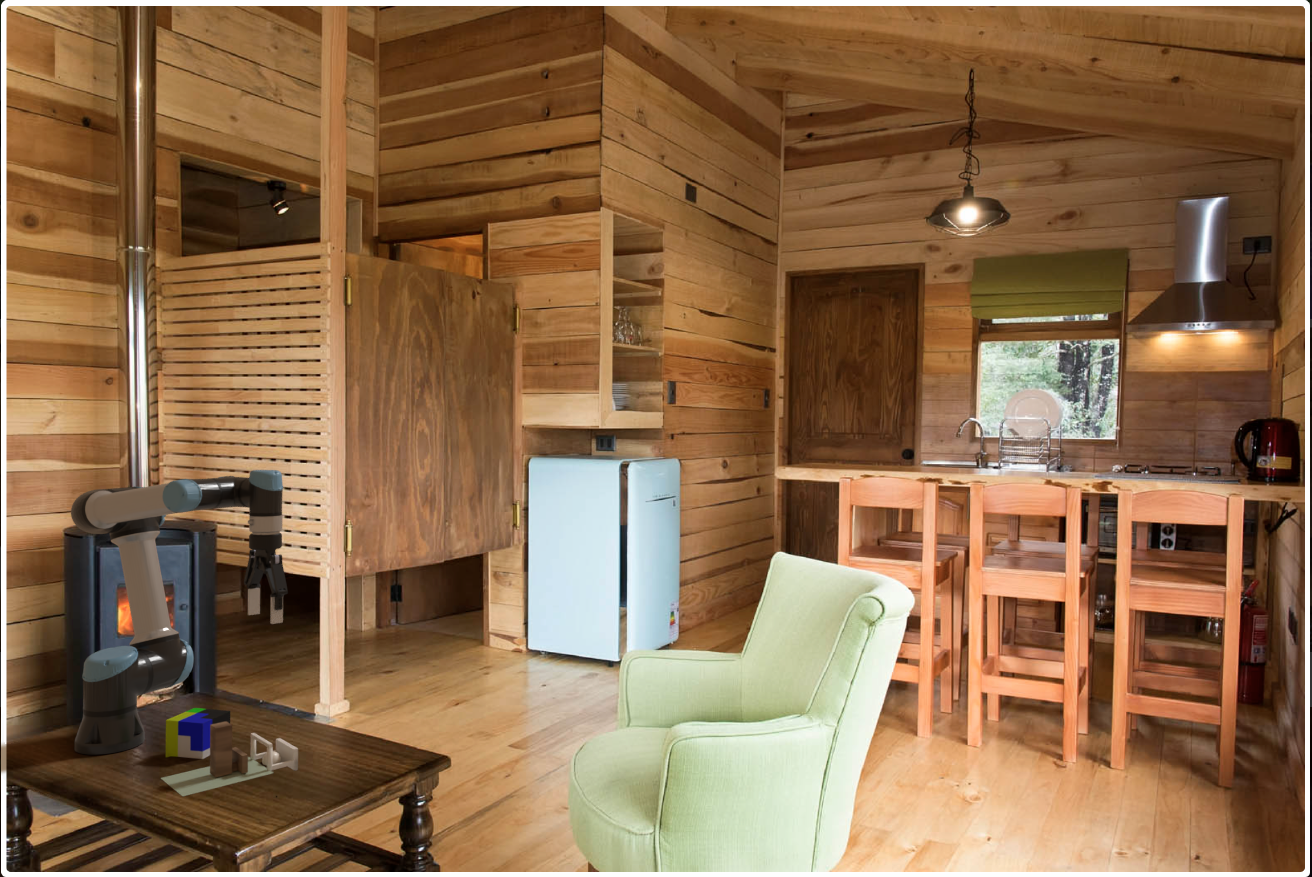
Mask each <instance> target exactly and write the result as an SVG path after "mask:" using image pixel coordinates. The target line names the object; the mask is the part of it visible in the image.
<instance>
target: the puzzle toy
mask: <svg viewBox="0 0 1312 877" xmlns="http://www.w3.org/2000/svg"><path fill="white" fill-rule="evenodd" d="M221 722H228V723H230V724H231V710H226V709H225V710H224V709H212V708H202V707H201V708H200V707H194V708H191V709H189V710H186V711H184V712H182V713H180V714H177V715H175V716H172V717H170V718H168V719H166V720H165V758H169V757H176V758H177V757H178V758H189V759H199V760H204V759H206V758H207V757H210V725H211V724H216V723H221Z"/></svg>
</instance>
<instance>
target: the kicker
mask: <svg viewBox="0 0 1312 877" xmlns="http://www.w3.org/2000/svg"><path fill="white" fill-rule="evenodd" d="M248 757H249V754H247V753H246V752H245V751H243V750H241V749H240V748H238V747H236V746H234V747H233V724H232V723H231V722H230V723H228V722H221V723H216V724H211V725H210V755H209V766H210V774H212V775H213V776H214V777H220V776H224V775H228V774H232V772H234V771H239V772H241V773H242V774H243V773H247V772H248Z"/></svg>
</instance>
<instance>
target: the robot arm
mask: <svg viewBox="0 0 1312 877" xmlns="http://www.w3.org/2000/svg"><path fill="white" fill-rule="evenodd" d="M283 490H284V485H283V473H282V472H281V471H280V470H277V469H253V470H251V471H250V472H249V477H247V476H246V477H245V476H234V475H226V476H225V475H224V476H219V477H210V478H209V477H208V478H191V479H190V478H189V479H188V478H184V479H183V478H182V479H177V480H172V481H170V482H168V483H167V482H166V483H161V484H156V485H150V486H130V487H129V486H128V487H127V486H126V487H116V488H113V487H112V488H98V489H93V490H89V491H86V492H84V493H81V494H79V496H78V497H76V499H75V500H73V503H72V505H71V508H70V517H71V520H72V522H73V524H74V525H75V526H76V527H77V528H79V529H80V531H81V530H82V532H86V533H89V534H92V535H93V534H94V535H103V534H104V535H105V534H109V538H110V542H111V543H112V544H114V545H116V546H117V547H118V550H119V555H120V556H119V557H120V562H121V567H122V573H123V578H124V584H125V589H126V595H127V601H128V605H129V612H130V617H131V623H132V629H133V633H134V637H133V638H132V640H131V641H130V642H129V645H119V646H115V647H108V648H104V649H100V650H98V651H96V652H93V653H91V654H90V655H89V656H87V657H86V659H85V661H84V662H83V671H82V677H81V678H82V680H83V681H82V699H83V700H82V712H83V713H82V720H81V721H80V724H79V728H78V730H77V733H76V736H75V738H74V751H75V752H76V753H79V754H81V755H82V754H83V755H96V756H97V755H106V754H107V755H108V754H114V753H120V752H123V751H127V750H130V749H133V748H136V747H138V746H140V745H141V744H143V743H144V742H145V737H146V736H145V735H146V734H145V728H144V725H143V723H142V721H141V718H140V715H139V712H138V696H141V695H145V694H149V693H152V692H153V693H154V692H157V691H159V690H162V689H167V688H168V689H169V688H172V687H174V686H176V685H178V684H181V683H183V682H184V681H185V680H186V679H187V678H189V675H190V673H192V670H193V667H194V659H195V658H194V651H193V648H192V647H191V645H190V644H189V642H188V641H186V640H185V639H182V638H181V637H180V632H179V631H178V630H176V629H174V628H173V627H172V625H171V621H170V620H171V618H170V614H169V609H168V603H167V598H166V593H165V588H164V583H163V577H162V571H161V564H160V561H159V555H158V550H157V544H156V543H157V542H156V539H157V537H158V536H159V535H160V534H161V530H160V527H162V526H163V525H164V522H165V521H166V519H165V518H166V517H167V515H168V516H169V515H173V514H174V515H175V514H180V513H181V514H182V513H187V512H193V511H203V510H215V509H224V508H227V509H228V508H249V510H248V511H249V512H248V518H249V520H247V524H248V525H249V526H248V527H249V532H250V534H249V535H248V548H249V551H248V560H247V567H246V571H245V575H244V580H243V584H244V586H246V588H247V616H253V615H255V616H256V615H260V614H261V587H262V586H261V580H262V578H263V576H264V575H266V579H267V581H268V585H269V588H270V591H271V593H270V595H269V598H270V621H269V622H270V624H271V625H274V624H282V623H283V622H284V596H285V595H287V594H289V591H288V586H287V581H286V576H285V568H284V563H283V554H276V550H279V549H281V548H282V546H283V534H282V533H281V532H282V531H283Z"/></svg>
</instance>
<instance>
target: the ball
mask: <svg viewBox="0 0 1312 877" xmlns="http://www.w3.org/2000/svg"><path fill="white" fill-rule="evenodd" d="M280 760H281V758H280V755H279V754H278V753H277V752H275V751H272V765H273V764H277V763H281V762H280ZM261 763H262V764H261V765H263V766H267V753H266V754H265V755H264V756H263V758H261Z"/></svg>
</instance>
